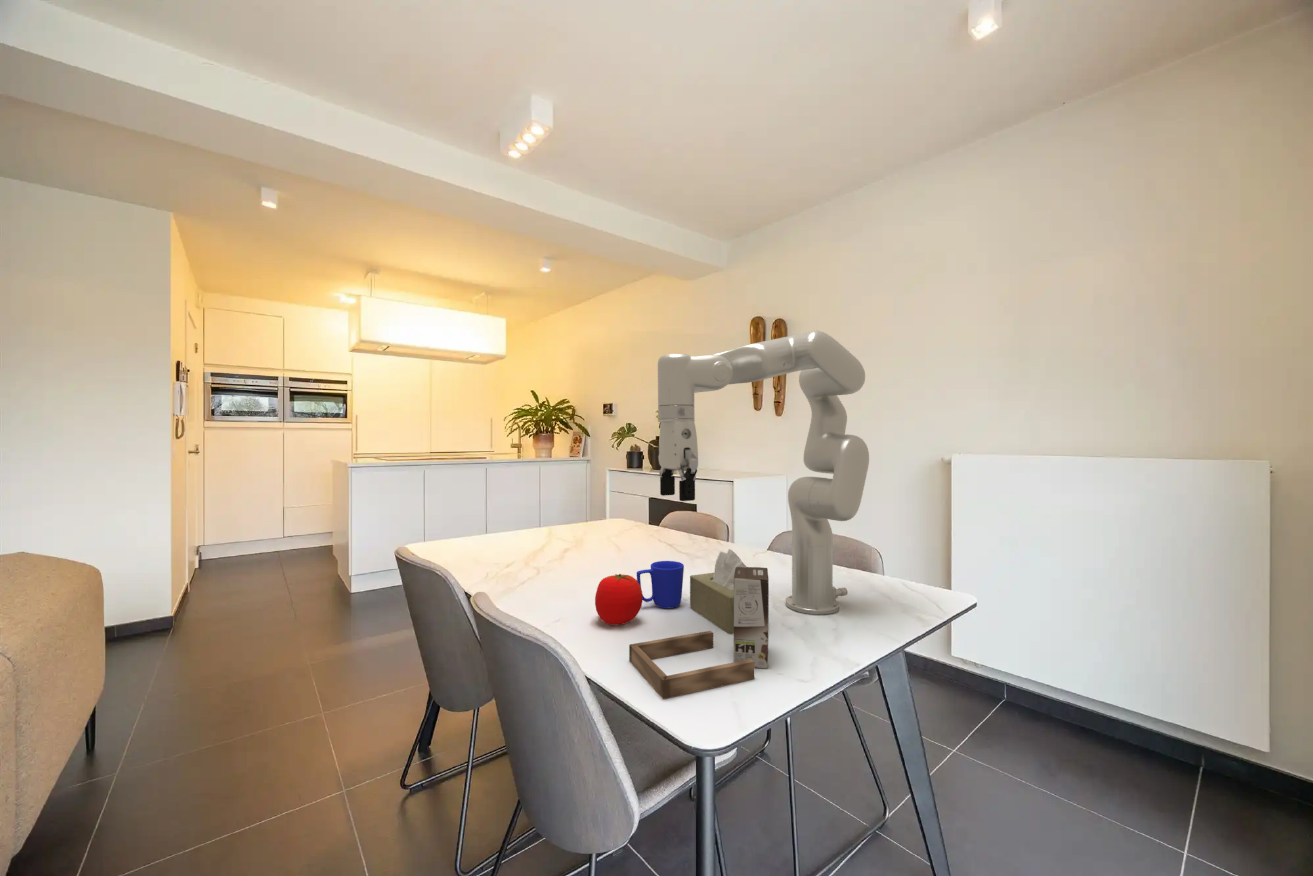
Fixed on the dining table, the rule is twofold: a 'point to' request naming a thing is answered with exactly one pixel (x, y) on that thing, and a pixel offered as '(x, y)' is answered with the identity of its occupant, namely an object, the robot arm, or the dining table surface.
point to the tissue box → (716, 592)
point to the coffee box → (751, 615)
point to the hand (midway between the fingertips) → (677, 497)
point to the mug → (665, 583)
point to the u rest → (692, 679)
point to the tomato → (618, 599)
